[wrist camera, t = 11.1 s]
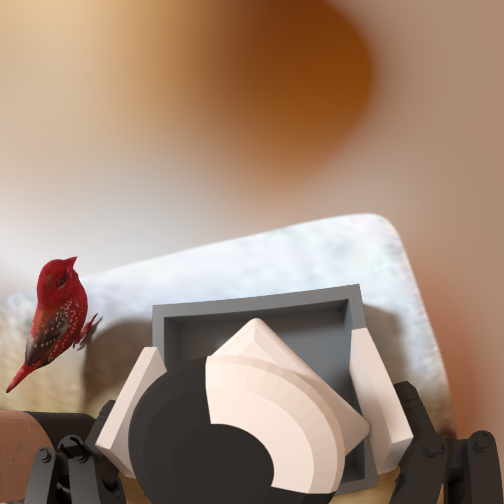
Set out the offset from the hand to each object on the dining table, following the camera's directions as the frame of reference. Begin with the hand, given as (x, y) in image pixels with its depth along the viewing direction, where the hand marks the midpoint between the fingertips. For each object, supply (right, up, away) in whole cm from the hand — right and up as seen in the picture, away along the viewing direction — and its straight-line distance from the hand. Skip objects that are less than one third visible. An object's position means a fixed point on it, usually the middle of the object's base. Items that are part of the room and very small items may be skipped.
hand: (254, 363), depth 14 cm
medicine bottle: (+1, -5, +3) cm, 5 cm away
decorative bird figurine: (-19, -5, +12) cm, 23 cm away
